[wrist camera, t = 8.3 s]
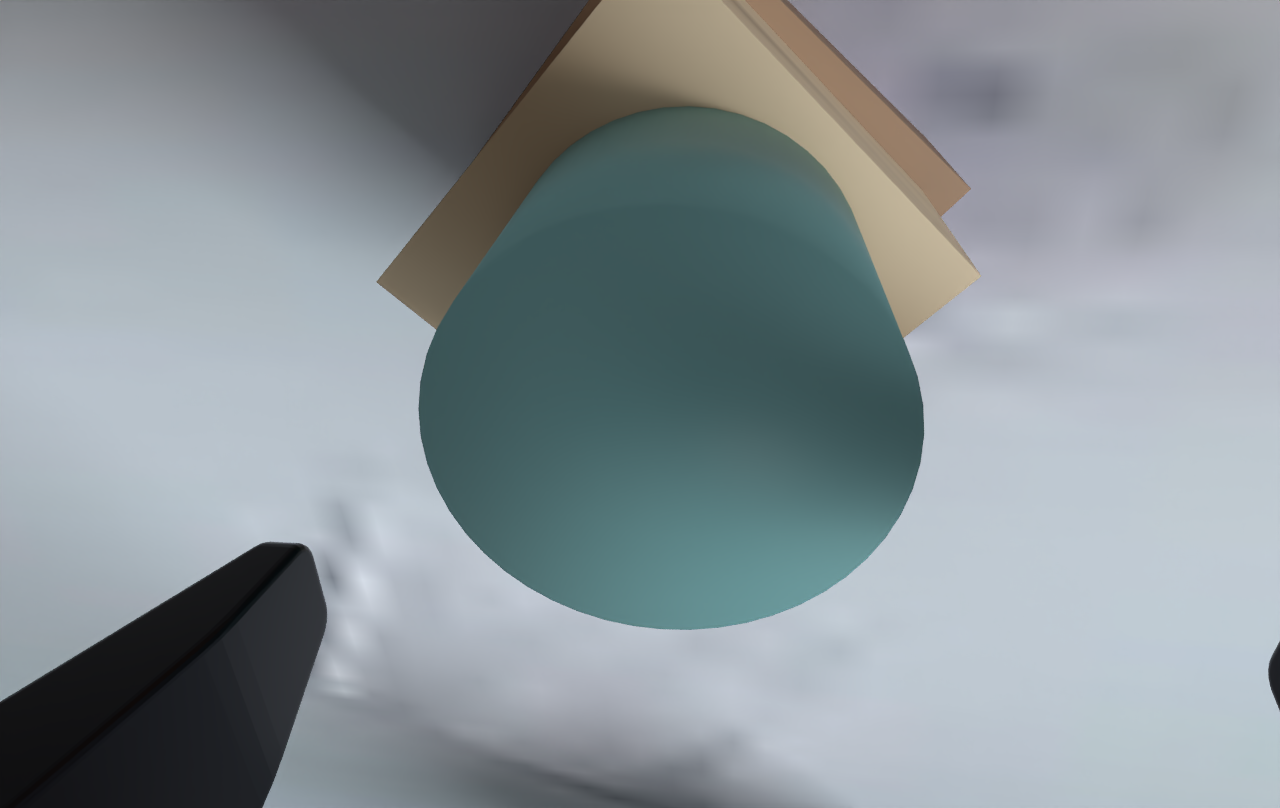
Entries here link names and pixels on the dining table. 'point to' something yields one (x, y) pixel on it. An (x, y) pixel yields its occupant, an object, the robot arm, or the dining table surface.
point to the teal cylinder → (675, 380)
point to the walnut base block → (847, 88)
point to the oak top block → (676, 77)
